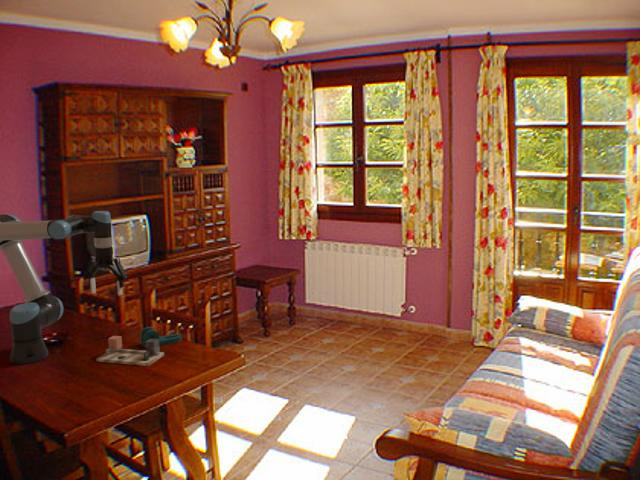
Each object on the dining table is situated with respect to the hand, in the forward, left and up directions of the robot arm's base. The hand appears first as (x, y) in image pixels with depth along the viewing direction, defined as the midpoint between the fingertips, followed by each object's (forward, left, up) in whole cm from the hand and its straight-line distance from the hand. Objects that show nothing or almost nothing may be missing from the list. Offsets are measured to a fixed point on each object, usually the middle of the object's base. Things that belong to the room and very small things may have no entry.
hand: (106, 293), depth 265 cm
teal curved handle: (+18, +14, -27) cm, 35 cm away
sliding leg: (+5, -6, -25) cm, 26 cm away
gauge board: (+14, -7, -26) cm, 31 cm away
